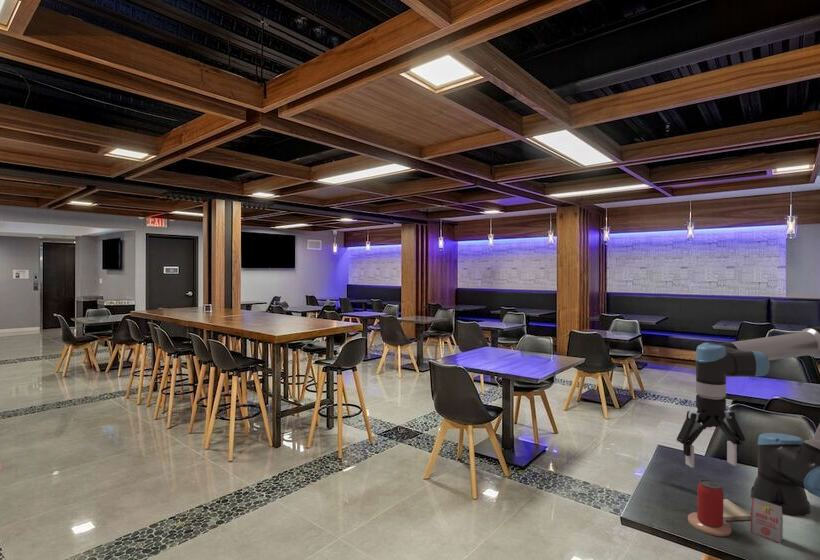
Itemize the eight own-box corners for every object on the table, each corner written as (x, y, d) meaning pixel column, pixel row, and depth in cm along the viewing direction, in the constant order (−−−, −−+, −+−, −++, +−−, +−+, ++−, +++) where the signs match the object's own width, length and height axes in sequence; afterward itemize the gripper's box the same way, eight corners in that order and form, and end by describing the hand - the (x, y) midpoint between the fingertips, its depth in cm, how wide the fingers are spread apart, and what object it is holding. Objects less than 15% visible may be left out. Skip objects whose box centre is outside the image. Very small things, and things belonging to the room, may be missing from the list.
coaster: (712, 514, 138) (712, 511, 138) (741, 535, 127) (741, 532, 127) (679, 516, 137) (679, 513, 137) (705, 537, 126) (705, 533, 126)
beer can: (727, 529, 128) (728, 489, 128) (703, 527, 130) (703, 487, 129) (716, 517, 135) (716, 479, 135) (693, 515, 136) (693, 477, 136)
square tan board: (726, 502, 145) (726, 498, 145) (752, 519, 135) (752, 515, 135) (698, 503, 145) (698, 500, 145) (722, 520, 135) (722, 517, 135)
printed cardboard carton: (753, 528, 131) (754, 495, 131) (782, 538, 126) (783, 504, 126) (750, 532, 129) (750, 499, 128) (779, 543, 123) (780, 509, 123)
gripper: (739, 391, 136) (739, 457, 137) (663, 393, 134) (663, 461, 135) (759, 397, 129) (759, 468, 129) (680, 401, 127) (680, 472, 127)
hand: (710, 464), depth 132 cm, fingers open, 13 cm apart
